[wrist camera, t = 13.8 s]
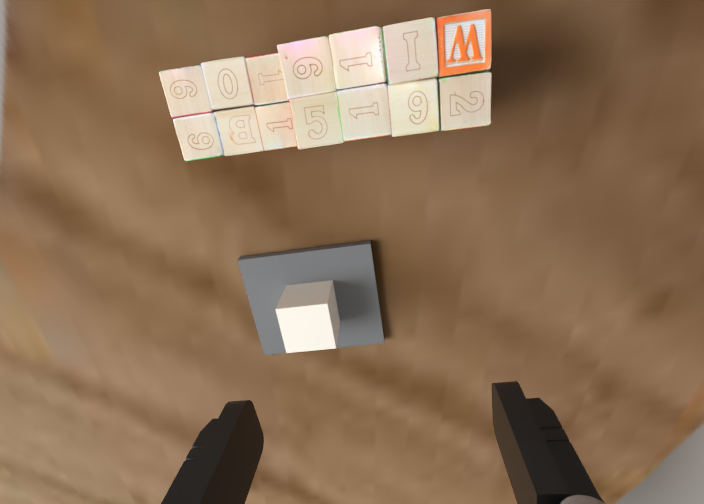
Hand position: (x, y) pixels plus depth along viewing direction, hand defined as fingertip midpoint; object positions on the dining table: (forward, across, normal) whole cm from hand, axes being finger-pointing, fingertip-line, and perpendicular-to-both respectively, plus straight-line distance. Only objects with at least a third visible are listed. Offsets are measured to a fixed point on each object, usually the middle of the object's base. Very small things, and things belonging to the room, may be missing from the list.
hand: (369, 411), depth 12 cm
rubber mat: (+26, +8, +10) cm, 29 cm away
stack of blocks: (+27, +3, -10) cm, 29 cm away
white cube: (+25, +8, +10) cm, 29 cm away
